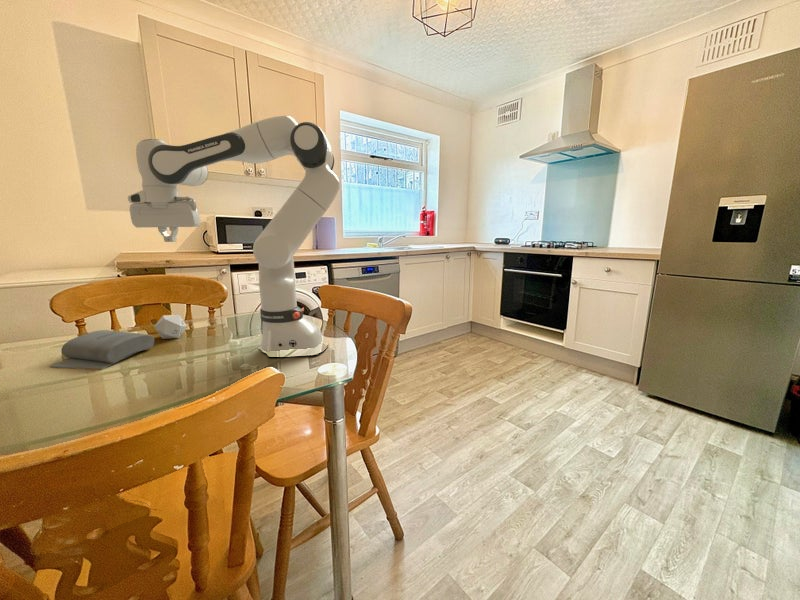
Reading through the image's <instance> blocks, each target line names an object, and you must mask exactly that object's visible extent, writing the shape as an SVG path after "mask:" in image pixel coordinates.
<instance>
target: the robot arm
mask: <svg viewBox="0 0 800 600" xmlns="http://www.w3.org/2000/svg"><path fill="white" fill-rule="evenodd" d="M135 154H136V156H135V157H136V163H137V168H138V173H139V174H140V176H141V181H142V182H141V187H142V190H140V191H137V192H134V193H133V194H129V195H128V196H127V199H128V203H130V205H129V215H130V220H131V223H132V225H133V227H135V228H157V230H158V232H159V234H160V235H161V236H162V237H163V241H164V242H165V243H175V242H177V235H178V234H179V228H195V227H196V228H197V227H200V225H201V218H200V214H199V211H198V209H197V208H198V206H197V202H196V200H194V199H193V198H192V197H190V196H179V191H178V185H180V186H181V185H182V186H189V187H196V186H198V187H199V186H201V185H203V184H204V183H206V181H207V180H208V177H209V170H208V166H212V165H214V164H215V165H216V164H218V163H221V162H226V161H227V162H228V161H230V162H231V161H232V162H233V161H234V162H242V163H248V164H253V165H255V164H262V163H267V162H271V161H274V160H276V159H279V158H282V157H285V156H293V157H295V158H296V160H297V161H298V163H299V164H300V166H301V167H302V168H303V169H304V171H305V174H304V177H303V179H302V180H301V181H300V182H299V184H298V185H297V186H296V188H295V189H294V191H293V192H292V193H291V194H290V196H289V197H288V198H287V200H286V201H285V203H284V204H283V205H282V206H281V208H280V209H279V210H278V211H277V212H276V214H275V215H274V216H273V217H272V219H271V220H270V221H269V223H267V225H265V228H264V229H263V230H262V231H261V233H260V234H259V235H258V236H257V237H256V239H255V241H254V243H253V246H252V247H253V248H252V252H253V257H254V258H255V260H256V261H257V262H258V289H259V297H260V298H259V299H260V309H259V310H260V311H259V312H260V323H261V325H262V334H261V335H262V336H261V344H260V348H261V349H262V350H264V351H266V352H270V351H280V350H289V349H307V348H315V347H317V346H318V345H319V344H321V342H322V340H323V339H322V338H323V336H322V335H323V334H322V330H321V329H320V326H318V325H316V324H315V323H313V322H312V321H310V320H309V319H307V317H305V316H304V311H305V308H304V307H302V308H301V307H300V306H298V304H297V302H298V301H297V289H296V277H295V275H296V274H295V261H294V260H295V258H294V255H295V254H296V253H297V252H298V250H299V249H300V247H301V246H302V244H303V243H304V242H305V240H306V239H307V238H308V236H309V235H310V233H311V232H312V230H313V229H314V228H315V227H316V225H317V224H318V223H319V221H320V220H321V219H322V217H323V216H324V215H325V213H326V212H327V211H328V209H329V208H330V206H331V205H332V203H333V202H334V200H335V198H336V196H337V194H338V193H339V190H340V188H341V182H340V179H339V177H338V176H337V175H336V173H335V172H334V171H333V170H334V166H335V158H334V154H333V150H332V146H331V144H330V142H329V140H328V138H327V135H326V134H325V132H324V131H323V130H322V128H321V127H320V126H318V125H316V124H315V123H314V122H310V121H303V122H299V123H298V122H297V121H296V120H295V119H294V118H293V117H291V116H290V115H277V116H272V117H268V118H263V119H261V120H258V121H255V122H253V123H250V124H247V125H245V126H241V127H239V128H237V129H234V130H232V131H229V132H226V133H224V134H223V133H222V134H220V135H219V134H218V135H215V136H211V137H208V138H205V139H202V140H197V141H195V142H190V143H188V144H183V145H172V144H171V145H170V144H169V143H167V141H165V140H161V139H157V138H155V139H152V138H149V139H143V140H140V141H139V142H138V143H137V144H136V147H135ZM168 229H169V231H171V232H170V235H169V234H168Z"/></svg>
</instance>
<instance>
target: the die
mask: <svg viewBox="0 0 800 600" xmlns="http://www.w3.org/2000/svg"><path fill="white" fill-rule="evenodd" d="M187 327H188V326H187V323H185V321H184V319H183V318H182V317H181V316H180V314H167V315H166V314H165V315H164V314H163V315H162V316H161V317H160V318H159V320H158V321H157V322H156V323H155V325H154V326H153V328H154V330H155V331H156V333H157V334H158V335H159V336H160V337H161V339H163V340H165V339H180V337H181V336H182V334H183V332H185V330H186V328H187Z"/></svg>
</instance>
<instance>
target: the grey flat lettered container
mask: <svg viewBox="0 0 800 600" xmlns="http://www.w3.org/2000/svg"><path fill="white" fill-rule="evenodd" d="M154 344H155V337H154V336H153V335H152V334H148V333H147V334H146V333H139V332H129V331H119V330H109V329H103V330H101V329H100V330H95V331H91V332H87V333H84V334H81V335H79V336H77V337H74V338H72V339H70V340H68V341H66V342H65V343H64V344H63V345H62V346H61V349H60V350H61V354H62V355H63V357H65V358H78V359H86V360H93V361H101V362H108V363H115V362H117V363H119V362H120V361H119V360H121V359H123V358H124V357H126V356H128V355H130V354H133V353H135V352H137V353H139V352H141V351H142V352H143V351H146V350H150V349H151V348H153V346H154ZM138 351H139V352H138ZM135 354H136V353H135ZM133 355H134V354H133ZM123 360H124V359H123ZM118 361H119V362H118ZM121 361H122V360H121ZM115 364H116V363H115Z"/></svg>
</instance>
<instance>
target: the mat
mask: <svg viewBox="0 0 800 600" xmlns="http://www.w3.org/2000/svg"><path fill="white" fill-rule="evenodd" d="M139 352H140V351H138V352H135V353H133V354H130V355H128V356H126V357H124V358H123V359H121V360H119V361H118V362H115V363H108V362H101V361H93V360H86V359H78V358H70V357H67V359H64V360H62V361H58V362H57V363H54V364H53V363H52V364H51V365H49V367H50V368H58V369H59V368H61V369H84V370H85V369H87V370H89V369H90V370H104V369H106V368H108V367H110V366H112V365H114V364H116V363H117V364H118V363H119V362H121V361H123V360H125V359H127V358H129V357H131V356H134V355H135V354H137V353H139Z"/></svg>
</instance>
